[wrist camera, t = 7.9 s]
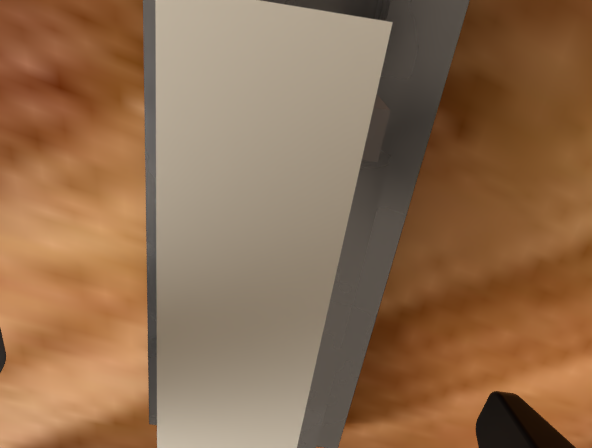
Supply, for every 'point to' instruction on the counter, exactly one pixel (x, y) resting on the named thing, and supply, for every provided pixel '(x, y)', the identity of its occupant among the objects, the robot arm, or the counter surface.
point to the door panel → (253, 206)
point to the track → (366, 201)
